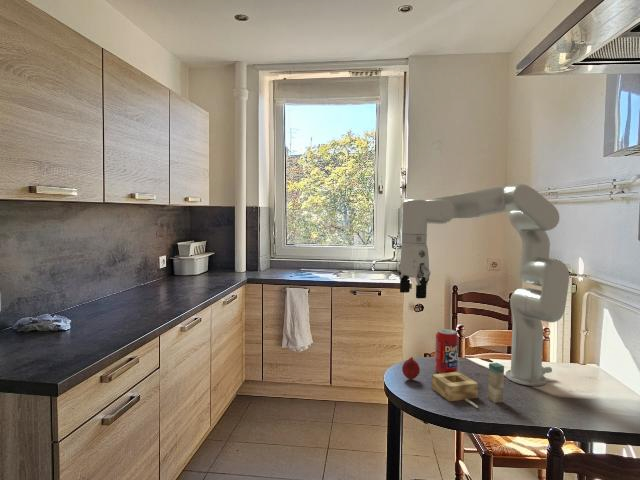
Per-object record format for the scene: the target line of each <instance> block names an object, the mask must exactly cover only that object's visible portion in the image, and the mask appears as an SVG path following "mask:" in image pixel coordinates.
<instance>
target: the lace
mask: <svg viewBox="0 0 640 480" xmlns="http://www.w3.org/2000/svg"><path fill="white" fill-rule="evenodd" d="M464 402H467V403H468V404H469V405H471V406H472V407H475V408H476V409H478V408H479V405H477V404H476V403H474V402H473V401H472V400H470V399H467V398H466V399H464Z"/></svg>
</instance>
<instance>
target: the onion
mask: <svg viewBox="0 0 640 480" xmlns="http://www.w3.org/2000/svg"><path fill="white" fill-rule="evenodd" d="M420 371H421V369H420V364H419V363H418V362H417V361H416V360H415V359H414V357H413V356H409V358H408V359H407V360H405V361H403V365H402V371H401V372H402V374H403V375H404V376H405V378H407V379H408V380H409V381H413V380H414V379H415V378H417V377H418V376H419V374H420Z"/></svg>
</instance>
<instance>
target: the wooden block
mask: <svg viewBox="0 0 640 480" xmlns="http://www.w3.org/2000/svg"><path fill="white" fill-rule="evenodd" d="M430 387H431V389H432V390H433V391H435V392H436V393H438V394H439V395H440V396H441V397H443V398H444V399H446V400H447V401H448V402H455V401H463V400H464V401H465V399H466V398H467V399H468V400H470V399H471V400H472V399H476V398H478V397H479V396H478V394H479V382H477V381H475V380H473V379H471V378H470V377H468V376H466V375H464V374H463V373H461V372H460V371H457V372H451V373H442V374H440V373H434V374H431V386H430Z"/></svg>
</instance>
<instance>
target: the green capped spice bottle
mask: <svg viewBox="0 0 640 480" xmlns="http://www.w3.org/2000/svg"><path fill="white" fill-rule="evenodd" d="M504 376H505V365H503V364H500V363H498V362H490V363H489V362H488V377H487V378H488V383H487V400H489V401H490V402H493V403H494V404H496V403H503V402H504V379H505V377H504Z"/></svg>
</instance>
